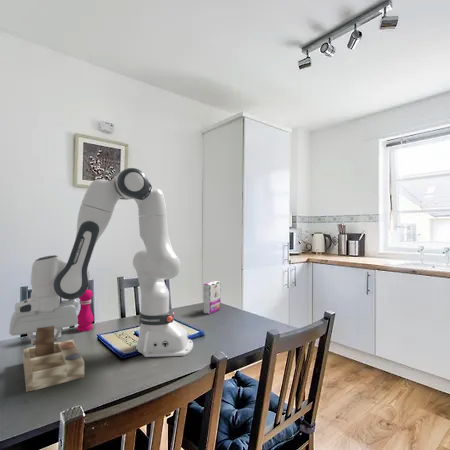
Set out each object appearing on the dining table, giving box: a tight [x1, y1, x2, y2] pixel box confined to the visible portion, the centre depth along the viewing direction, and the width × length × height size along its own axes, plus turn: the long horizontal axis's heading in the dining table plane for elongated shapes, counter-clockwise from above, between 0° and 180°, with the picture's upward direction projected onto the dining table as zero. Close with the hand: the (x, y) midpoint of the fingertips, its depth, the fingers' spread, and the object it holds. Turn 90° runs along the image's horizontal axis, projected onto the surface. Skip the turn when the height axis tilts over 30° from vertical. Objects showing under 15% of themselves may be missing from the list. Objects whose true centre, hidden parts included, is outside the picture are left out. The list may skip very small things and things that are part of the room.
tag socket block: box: [22, 339, 85, 393], centre depth 100 cm, size 16×22×5 cm
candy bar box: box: [202, 280, 221, 315], centre depth 171 cm, size 11×5×16 cm, turn 149°
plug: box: [35, 326, 55, 357], centre depth 104 cm, size 5×5×11 cm
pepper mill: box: [76, 287, 95, 332], centre depth 139 cm, size 7×7×20 cm
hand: (44, 342), depth 104 cm, fingers closed on plug, 5 cm apart
